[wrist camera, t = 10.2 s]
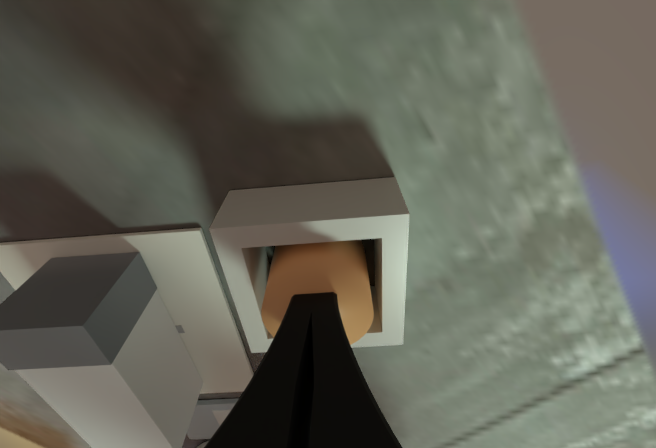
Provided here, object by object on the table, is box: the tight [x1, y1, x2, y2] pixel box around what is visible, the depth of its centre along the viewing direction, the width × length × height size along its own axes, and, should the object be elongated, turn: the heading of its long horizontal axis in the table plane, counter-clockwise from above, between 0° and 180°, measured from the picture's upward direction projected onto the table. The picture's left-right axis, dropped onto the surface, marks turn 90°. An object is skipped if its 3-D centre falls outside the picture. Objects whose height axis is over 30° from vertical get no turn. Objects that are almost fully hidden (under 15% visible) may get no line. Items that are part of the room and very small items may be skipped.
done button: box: [261, 240, 374, 345], centre depth 12 cm, size 4×4×3 cm
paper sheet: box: [0, 228, 254, 394], centre depth 16 cm, size 11×9×1 cm
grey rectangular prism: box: [0, 252, 203, 448], centre depth 15 cm, size 9×4×4 cm, turn 5°
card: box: [187, 398, 239, 440], centre depth 21 cm, size 4×6×1 cm, turn 95°
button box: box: [209, 177, 409, 353], centre depth 13 cm, size 6×6×2 cm
